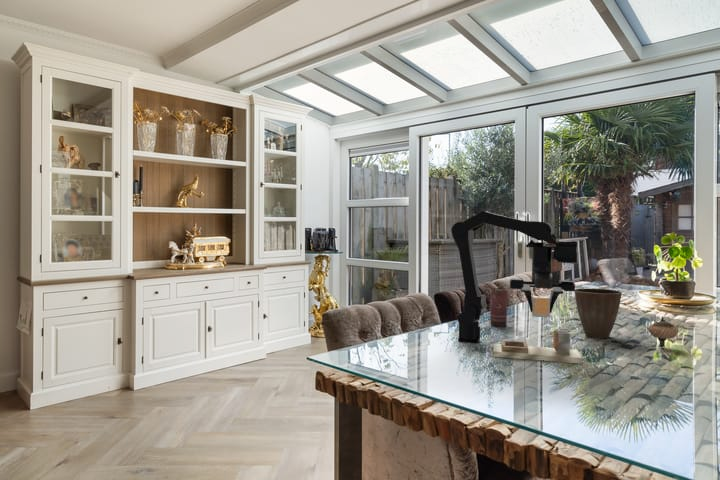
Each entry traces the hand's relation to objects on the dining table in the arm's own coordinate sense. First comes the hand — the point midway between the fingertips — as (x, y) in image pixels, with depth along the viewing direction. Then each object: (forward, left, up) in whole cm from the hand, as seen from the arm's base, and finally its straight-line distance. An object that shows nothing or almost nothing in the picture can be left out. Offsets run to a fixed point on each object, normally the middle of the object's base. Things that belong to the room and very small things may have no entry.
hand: (540, 312), depth 152 cm
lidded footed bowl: (+38, +14, -12) cm, 42 cm away
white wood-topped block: (0, 0, -1) cm, 1 cm away
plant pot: (+21, +26, -12) cm, 35 cm away
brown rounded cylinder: (-12, +35, -12) cm, 39 cm away
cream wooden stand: (-2, -9, -11) cm, 15 cm away
